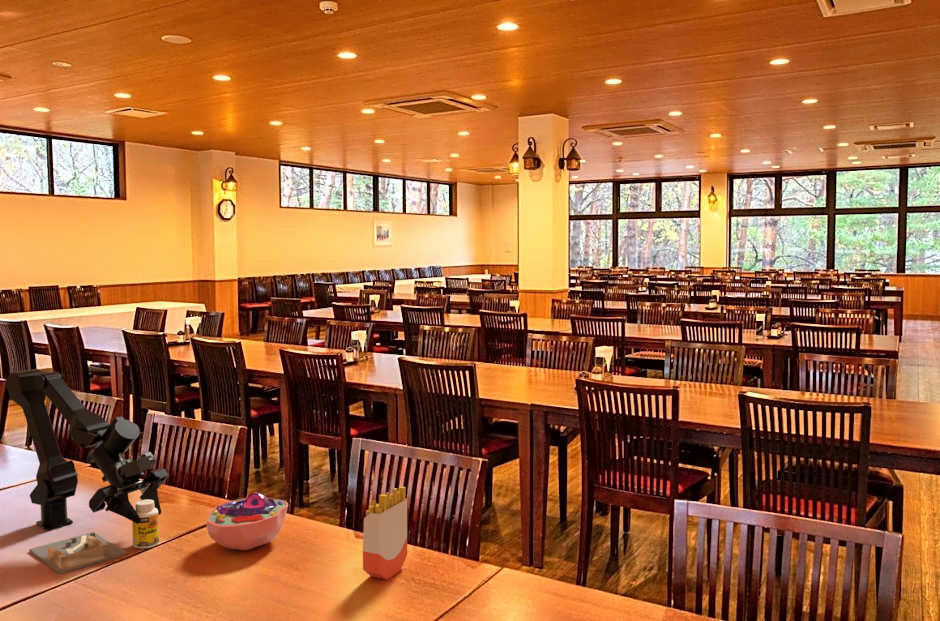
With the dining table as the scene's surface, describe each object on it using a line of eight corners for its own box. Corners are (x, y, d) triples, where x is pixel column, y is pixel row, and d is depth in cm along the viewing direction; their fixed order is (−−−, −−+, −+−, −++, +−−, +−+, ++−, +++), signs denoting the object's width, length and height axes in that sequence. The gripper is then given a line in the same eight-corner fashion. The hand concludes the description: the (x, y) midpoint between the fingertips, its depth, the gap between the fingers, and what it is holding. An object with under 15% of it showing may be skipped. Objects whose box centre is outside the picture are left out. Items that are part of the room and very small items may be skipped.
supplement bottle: (135, 551, 176) (134, 507, 175) (131, 543, 180) (129, 500, 179) (161, 546, 179) (160, 503, 178) (156, 538, 183) (155, 496, 182)
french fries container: (361, 580, 161) (360, 495, 159) (389, 561, 171) (389, 481, 169) (380, 585, 159) (379, 499, 157) (407, 565, 168) (407, 484, 167)
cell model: (187, 553, 175) (186, 504, 174) (251, 524, 193) (250, 480, 192) (244, 567, 167) (243, 516, 166) (305, 536, 185) (304, 490, 184)
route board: (29, 551, 176) (29, 544, 175) (93, 534, 186) (92, 527, 186) (59, 574, 164) (59, 566, 164) (125, 554, 174) (125, 547, 174)
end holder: (48, 559, 170) (47, 548, 170) (92, 546, 177) (92, 535, 177) (63, 570, 164) (62, 558, 164) (108, 556, 171) (108, 545, 171)
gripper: (95, 454, 171) (133, 510, 167) (161, 434, 187) (198, 485, 184) (72, 484, 175) (109, 540, 171) (139, 462, 191) (174, 513, 188)
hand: (149, 518), depth 178 cm, fingers closed on supplement bottle, 6 cm apart
